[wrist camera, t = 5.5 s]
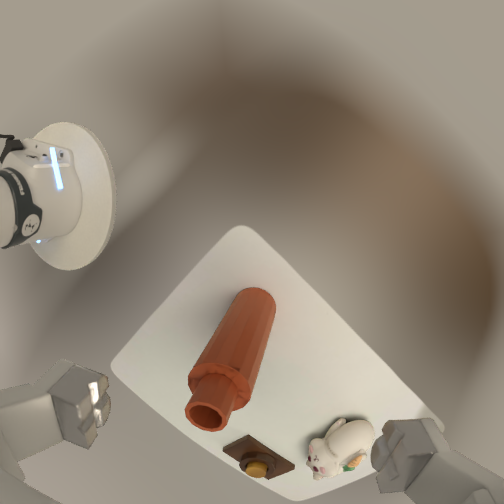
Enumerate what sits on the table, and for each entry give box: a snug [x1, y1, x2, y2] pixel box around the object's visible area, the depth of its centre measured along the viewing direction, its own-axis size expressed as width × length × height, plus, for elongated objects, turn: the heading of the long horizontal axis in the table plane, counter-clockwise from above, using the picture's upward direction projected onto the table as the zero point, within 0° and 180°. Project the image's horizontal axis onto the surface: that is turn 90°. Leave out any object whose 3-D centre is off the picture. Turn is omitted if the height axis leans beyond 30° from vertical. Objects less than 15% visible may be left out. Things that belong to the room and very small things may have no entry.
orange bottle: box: [185, 288, 276, 432], centre depth 33 cm, size 6×6×22 cm
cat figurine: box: [306, 418, 375, 481], centre depth 44 cm, size 10×8×15 cm
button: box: [246, 461, 267, 478], centre depth 50 cm, size 4×4×2 cm
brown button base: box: [223, 435, 295, 480], centre depth 51 cm, size 13×8×3 cm, turn 47°
